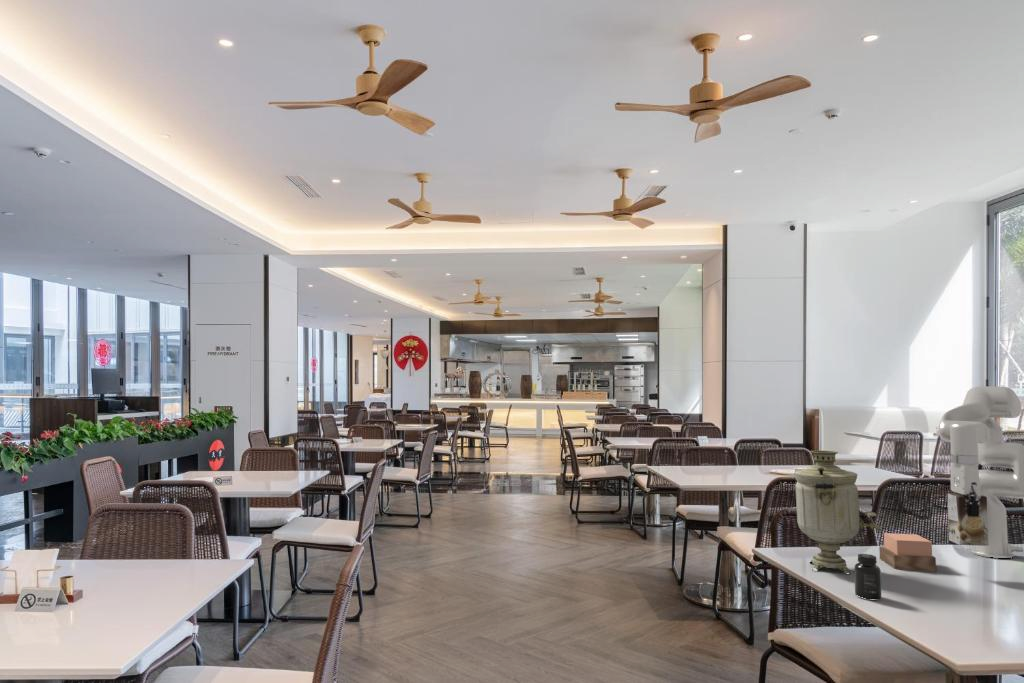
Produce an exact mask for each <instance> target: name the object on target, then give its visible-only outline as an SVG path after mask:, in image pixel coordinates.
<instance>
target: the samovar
mask: <svg viewBox="0 0 1024 683" xmlns="http://www.w3.org/2000/svg"><path fill="white" fill-rule="evenodd" d="M809 453H811V454H812V455H813V461H814V462H815V464H813V465H811V466H809V467H808V468H804V469H799V470H795V471H793V476H794V478H795V480H796V483H795V500H796V501H795V502H796V521H797V525H798V528H799V529H800V531H801V532H802V533H803V534H805V535H806V536H807V537H808V538H809V539H811V540H813V541H815V542H817V549H820V552H818V553H816V555H814V556H812V559H811V560H810V561H811V562H812V563H811V564H813V565H814V567H813V568H816V569H819V570H820V569H822V568H827V569H829V568H831V569H838V570H840V571H842V572H843V573H844V574H845V573H850V571H848V570H847V567H848V566H847V561H846V560H845V559H844V558H843V557H842V556H841V555H839V554H837V551H840V550H841V544H842V543H843V544H844V543H846V542H849V541H850V540H851V541H852V539H853V538H855V537H856V536H857V535H858V533H859V532H860V530H863V529H864V527H868V528H869V529H870V530H875V529H876V530H877V531H878V532H881V531H883V528H881V526H880V525H878V524H876V523H875V522H874V520H873V517H875V516H877V514H876V513H875V512H873V511H865V512H864V515H866V516H867V517H869V522H863V519H862V518H860V507H859V506H860V504H859V503H860V502H859V488H858V487H857V485H856V482H857V479H858V474H859V473H857V472H853V471H851V470H847V469H842V468H841V467H840V466H837V465H834V463H835V462H836V455H837V454H838V453H839V451H834V450H810V451H809Z"/></svg>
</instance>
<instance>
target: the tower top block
mask: <svg viewBox="0 0 1024 683" xmlns="http://www.w3.org/2000/svg"><path fill="white" fill-rule="evenodd" d="M883 541H884V542H883V544H884V547H885V548H887V549H888V550H890V551H892V552H893V553H895V554H897V555H909V556H930V557H932V556H933V545H932V542H933V541H931V540H930V539H929V540H928V539H927V538H924V537H923V536H920V535H918V534H910V533H892V532H891V533H888V532H884V533H883Z"/></svg>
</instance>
